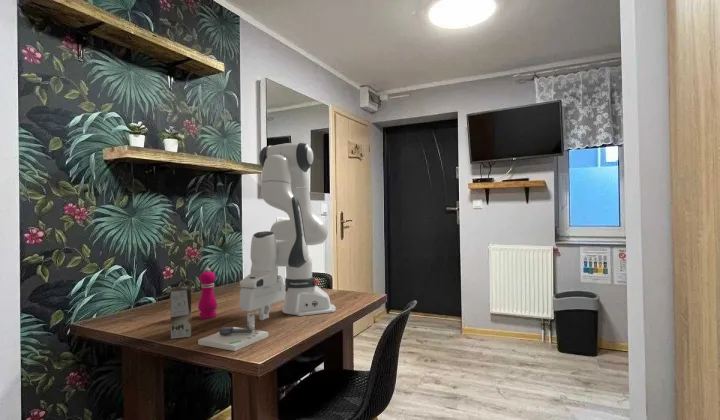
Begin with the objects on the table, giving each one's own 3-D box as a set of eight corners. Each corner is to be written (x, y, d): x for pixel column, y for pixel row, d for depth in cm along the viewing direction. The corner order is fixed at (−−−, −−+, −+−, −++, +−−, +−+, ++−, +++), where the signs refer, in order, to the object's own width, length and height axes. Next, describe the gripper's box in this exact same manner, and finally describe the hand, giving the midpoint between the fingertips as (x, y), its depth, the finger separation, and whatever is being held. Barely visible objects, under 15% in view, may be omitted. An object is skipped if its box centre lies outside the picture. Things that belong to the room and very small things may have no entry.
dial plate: (233, 331, 137) (233, 326, 137) (268, 336, 130) (268, 331, 130) (198, 344, 123) (198, 339, 123) (235, 351, 116) (235, 345, 116)
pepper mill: (220, 314, 161) (220, 266, 161) (212, 319, 153) (211, 268, 154) (203, 314, 161) (203, 266, 162) (194, 318, 154) (194, 268, 155)
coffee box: (191, 336, 131) (191, 289, 131) (170, 339, 128) (170, 290, 129) (191, 329, 139) (191, 285, 140) (171, 332, 137) (171, 286, 137)
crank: (217, 335, 125) (217, 316, 125) (221, 331, 130) (221, 313, 130) (253, 333, 126) (253, 315, 126) (256, 329, 131) (255, 312, 131)
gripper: (275, 274, 145) (275, 311, 144) (235, 282, 126) (236, 325, 126) (289, 275, 142) (289, 312, 141) (251, 283, 123) (251, 327, 123)
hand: (264, 318), depth 133 cm, fingers closed
